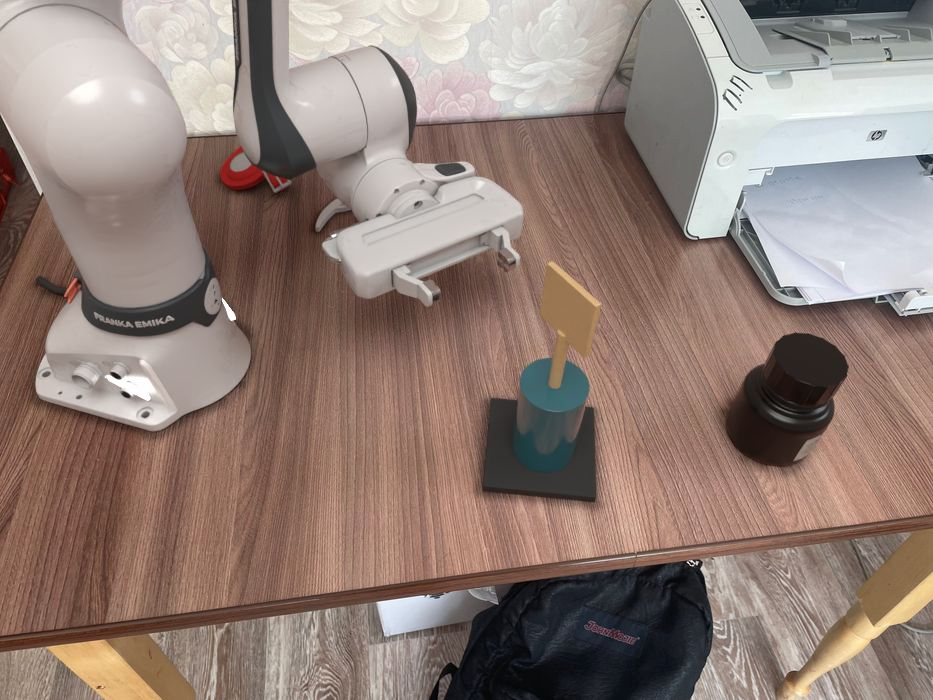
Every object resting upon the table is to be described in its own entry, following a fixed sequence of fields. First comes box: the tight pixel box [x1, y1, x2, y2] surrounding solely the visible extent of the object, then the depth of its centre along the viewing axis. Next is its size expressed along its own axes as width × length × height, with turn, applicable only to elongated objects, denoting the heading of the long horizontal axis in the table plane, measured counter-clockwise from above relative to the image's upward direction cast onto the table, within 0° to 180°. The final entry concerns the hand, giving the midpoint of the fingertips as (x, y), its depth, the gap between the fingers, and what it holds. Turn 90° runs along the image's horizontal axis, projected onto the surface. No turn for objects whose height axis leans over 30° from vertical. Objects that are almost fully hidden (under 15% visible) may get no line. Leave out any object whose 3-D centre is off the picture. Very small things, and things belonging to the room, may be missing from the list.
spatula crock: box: [512, 260, 603, 472], centre depth 64 cm, size 6×6×22 cm
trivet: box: [482, 397, 597, 503], centre depth 73 cm, size 11×11×1 cm
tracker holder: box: [219, 145, 292, 194], centre depth 103 cm, size 12×4×10 cm
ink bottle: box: [725, 332, 850, 467], centre depth 71 cm, size 10×9×12 cm
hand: (475, 281), depth 69 cm, fingers open, 8 cm apart
